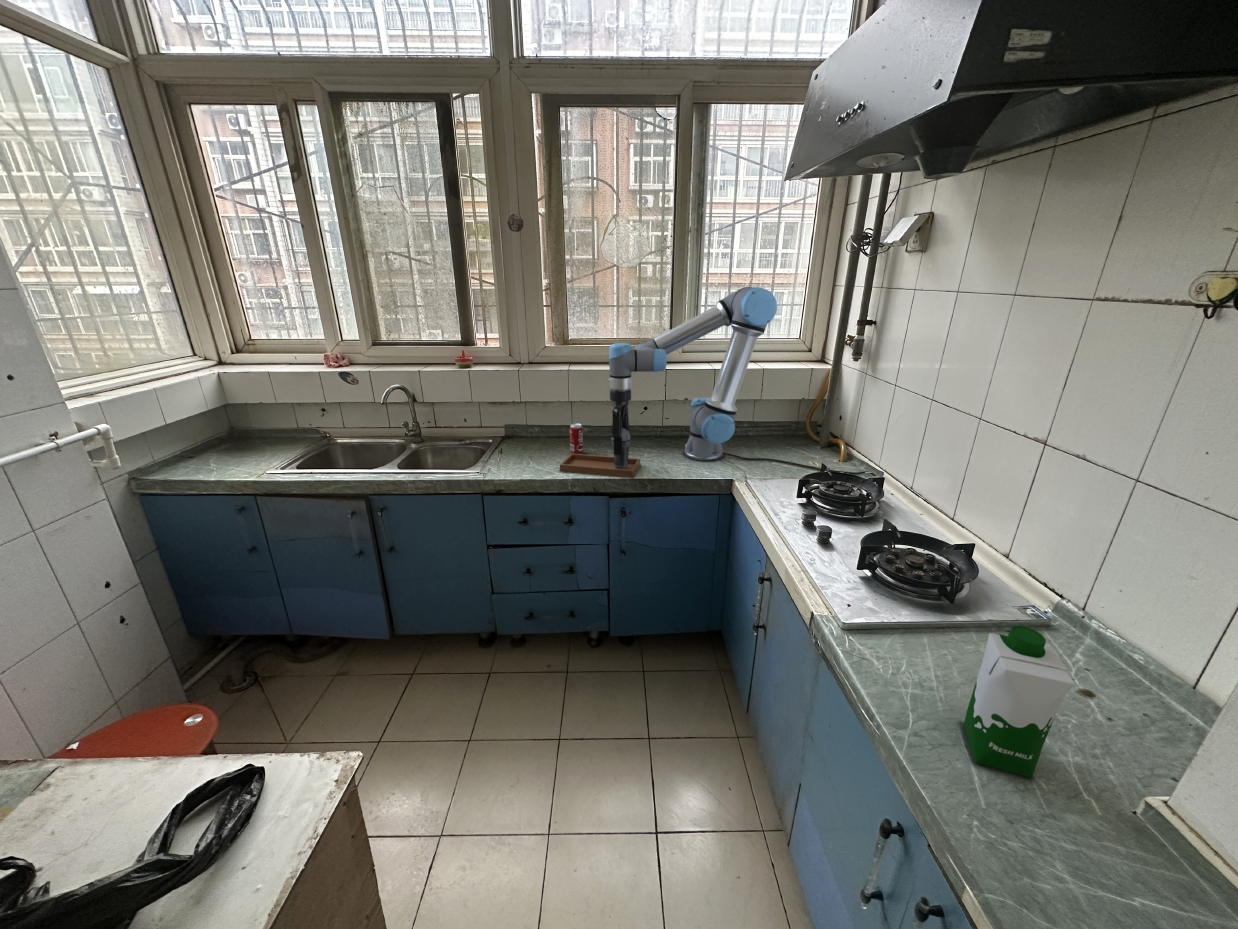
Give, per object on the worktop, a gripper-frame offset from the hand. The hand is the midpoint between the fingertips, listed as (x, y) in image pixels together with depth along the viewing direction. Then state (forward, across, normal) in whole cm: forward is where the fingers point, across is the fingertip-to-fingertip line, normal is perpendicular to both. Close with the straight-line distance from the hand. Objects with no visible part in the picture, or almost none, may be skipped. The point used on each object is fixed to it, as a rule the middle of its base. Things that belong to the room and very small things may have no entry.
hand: (620, 450), depth 182 cm
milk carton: (+8, +98, +84) cm, 130 cm away
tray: (+8, 0, -8) cm, 11 cm away
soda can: (+8, -14, -22) cm, 27 cm away
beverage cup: (+7, 0, 0) cm, 7 cm away
